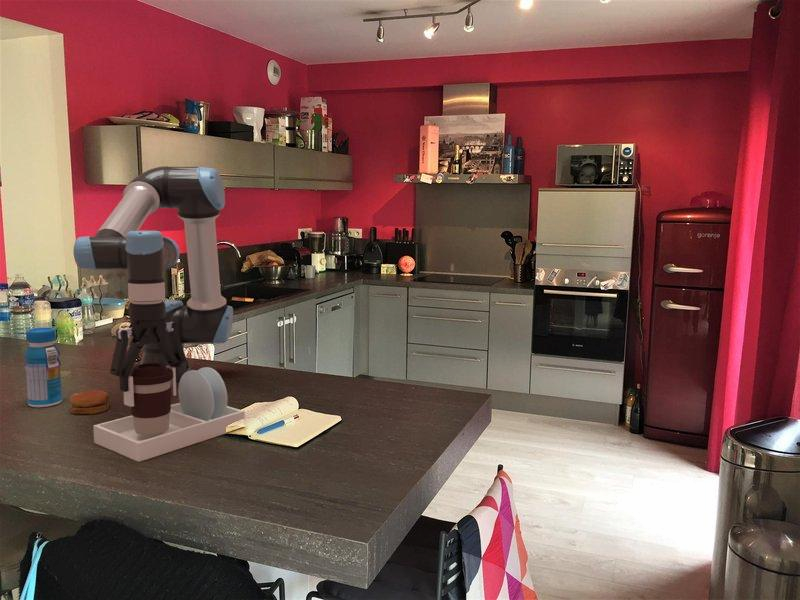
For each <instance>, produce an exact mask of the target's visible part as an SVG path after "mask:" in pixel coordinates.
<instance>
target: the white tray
mask: <svg viewBox="0 0 800 600" xmlns="http://www.w3.org/2000/svg"><path fill="white" fill-rule="evenodd" d="M245 416H246V415H245V410H242V409H238V408H235V407H232V406H228V405H227V407H226V411H225V413H224V414H223V416H222V417H219V418H216V419H213V420H211V419H209V420H208V421H204V420H201V419H198V418H195V417H192V416H189V415H186V414H184V412H183V410H182V408H181V405H180V402H178V403H172V404H171V411H170V415H169V429H168V430H167V431H166V432H164V433H161V434H157V435H139V434H137V433H136V432H135V428H134V420H133V416H132V414H131V415H128V416H125V417H122V418H117V419H113V420H110V421H105V422H102V423H101V422H100V423H98V424H94V425H93V444H96V445H98V446H101V447H103V448H105V449H108V450H111V451H112V452H115V453H117V454H119V455H122V456H124V457H125V458H128V459H131V460H133V461H135V462H139V463H140V462H143V461H146V460H149V459H152V458H155V457H158V456H161V455H165V454H168V453H170V452H174V451H177V450H180V449H182V448H186V447H189V446H191V445H192V446H193V445H195V444H198V443H201V442H204V441H208V440H209V439H213V438H217V437H219V436H223V435H226V434H227V433H226V427H227V426H228V425H230V424H232V423H234V422H236V421H239V420H241V419H244V418H245ZM245 419H246V418H245Z"/></svg>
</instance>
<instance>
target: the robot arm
mask: <svg viewBox="0 0 800 600" xmlns="http://www.w3.org/2000/svg"><path fill="white" fill-rule="evenodd" d="M224 187H225V186H224V182H223V179H222V177H221V174H220V172H219V171H218V170H216V169H215V168H213V167H203V166H166V165H165V166H157V167H153V168H150V169H148V170H146V171H144V172H142V173H140V174H138V175H137V176H136V177H134V178H133V179H132V180H131V181H130V182H128V184H127V185H126V186H125V187H124V190H123V192H122V199H121V200H120V201H119V202H118V204H117V205H116V206H115V207H114V209H113V211H112V212H111V213H110V214H109V215H108V217H107V218H106V220H105V221H104V223H103V224H102V225H101V226H100V228H99V229H98V230H97V232H96V233H95V234H94V235H93V236H90V235H87V236H80V237H78V238H76V239H75V242H74V244H73V252H72V253H73V258H74V262H75V264H76V266H78V267H79V268H80V269H83V270H86V269H87V270H88V269H89V270H94V271H96V270H123V271H124V270H126V272H127V291H128V296H127V297H128V301H130V302H129V304H128V317H129V321H130V322H129V323H130V324H129V326H128V328H124V329H121V328H117V329H116V330H115V335H116V343H115V348H114V351H113V356H112V361H111V365H110V370H109V374H110V375H113V376H116V377H118V378H119V390H120V392H123V405H124V406H128V407H130V408H131V407H132V406H134V390H133V377H132V376H129V375H130V373H131V371H132V369H133V367H134V366H135V365H136V364H135V363H136V361H137V359H138V357H139V355H140V352H141V350H142V349H143V355H142V358H141V361H140V364H144V363H162V364H165V365H166V367H167V369H171V370H172V371H173V379H172V380H171V384H170V386H171V397H172V396H173V397H175V396H177V381H180V379H181V377H182V375H183V374H184V373H185V372H187V371H190V370H191V366H190V364H189V362H188V359H187V356H186V353H185V348H184V347H185V346H184V345H185V344H186V345H187V344H189V345H190V344H192V345H193V344H195V345H196V344H197V345H198V344H199V345H203V344H204V345H210V344H211V345H216V344H217V345H218V344H225V343H227V342H228V341H229V339H230V336H231V332H232V328H233V319H234V308H233V306H230V305H227V298H225V297H224V296H223V295H222V293H221V291H222V290H221V280H220V279H221V278H220V269H219V267H220V265H219V256H218V255H219V254H218V243H217V242H218V241H217V229H216V219H217V218H218V217H219V216H220V215H221V210H223V209H224V207H225V205H226V198H225V197H226V194H225V193H226V192H225V188H224ZM158 209H176V210H177V211H176V212H177V217H178V218H179V219H181V220H182V221H183V223H184V233H185V234H184V235H185V244H186V245H185V246H186V255H187V265H188V275H189V284H190V285H189V287H190V296H191V297H190V298H189V299H188V300H187V301H186V305H184V303H183V302H182V300H168V301H163V300H165V299H166V286H165V285H166V284H165V270H168V269H170V268H172V267H173V266H174V265H175V264H176V263H178V261H179V259H180V255H181V252H180V247H179V245H178V244H177V243H176V241H175V240H173V239H172V238H170V237H167V236H166V237H165V236H163V233H162V232H161V231H159V230H140V229H141V228H142V225H143V224H144V222H146V220H147V218H148V217H149V215H150V214H153V213H155V212H156V211H157V210H158ZM131 336H132V338H131ZM130 338H131V339H130ZM129 339H130V342H129ZM128 345H129V348H128Z"/></svg>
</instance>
